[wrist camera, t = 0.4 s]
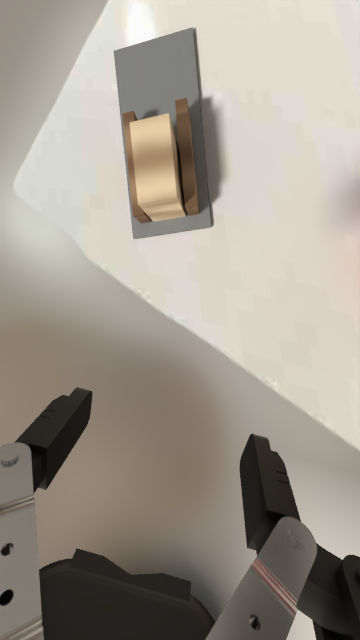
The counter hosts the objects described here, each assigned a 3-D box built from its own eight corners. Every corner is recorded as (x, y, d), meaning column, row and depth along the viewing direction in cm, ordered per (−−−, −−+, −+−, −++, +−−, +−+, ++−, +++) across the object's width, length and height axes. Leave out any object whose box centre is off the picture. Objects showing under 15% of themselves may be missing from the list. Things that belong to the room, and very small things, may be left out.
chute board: (115, 54, 40) (113, 51, 39) (193, 31, 37) (192, 27, 37) (134, 239, 41) (133, 238, 40) (211, 227, 39) (211, 226, 38)
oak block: (146, 154, 39) (129, 122, 32) (179, 147, 38) (168, 113, 31) (153, 221, 40) (137, 204, 33) (185, 216, 39) (176, 197, 32)
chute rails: (131, 130, 39) (122, 113, 36) (190, 116, 38) (186, 97, 34) (141, 223, 40) (133, 216, 36) (199, 214, 38) (196, 205, 35)
